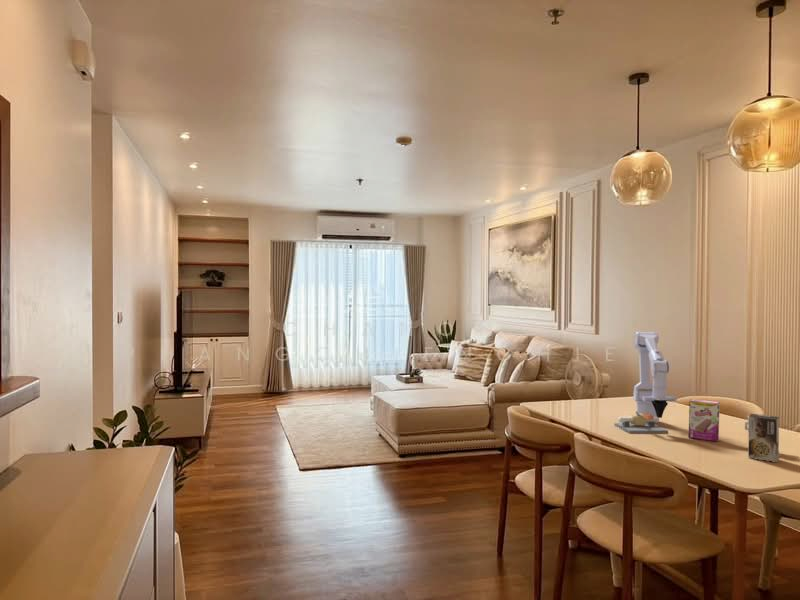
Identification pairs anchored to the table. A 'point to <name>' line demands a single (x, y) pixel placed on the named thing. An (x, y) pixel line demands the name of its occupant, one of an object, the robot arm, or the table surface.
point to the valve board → (641, 428)
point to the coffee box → (763, 437)
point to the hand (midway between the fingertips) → (659, 417)
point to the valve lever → (645, 415)
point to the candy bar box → (704, 420)
